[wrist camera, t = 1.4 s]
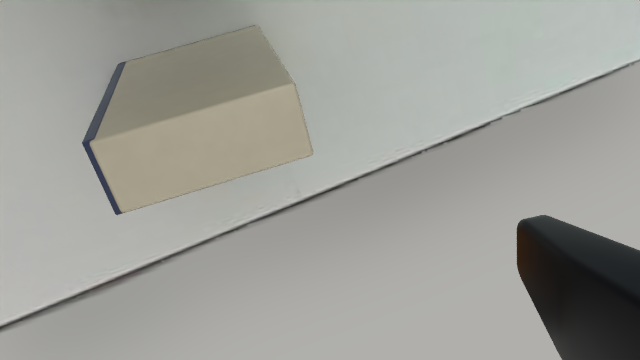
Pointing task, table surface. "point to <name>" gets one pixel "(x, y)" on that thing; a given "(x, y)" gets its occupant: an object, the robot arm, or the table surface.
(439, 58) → the table surface
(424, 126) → the table surface
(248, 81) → the cream book
